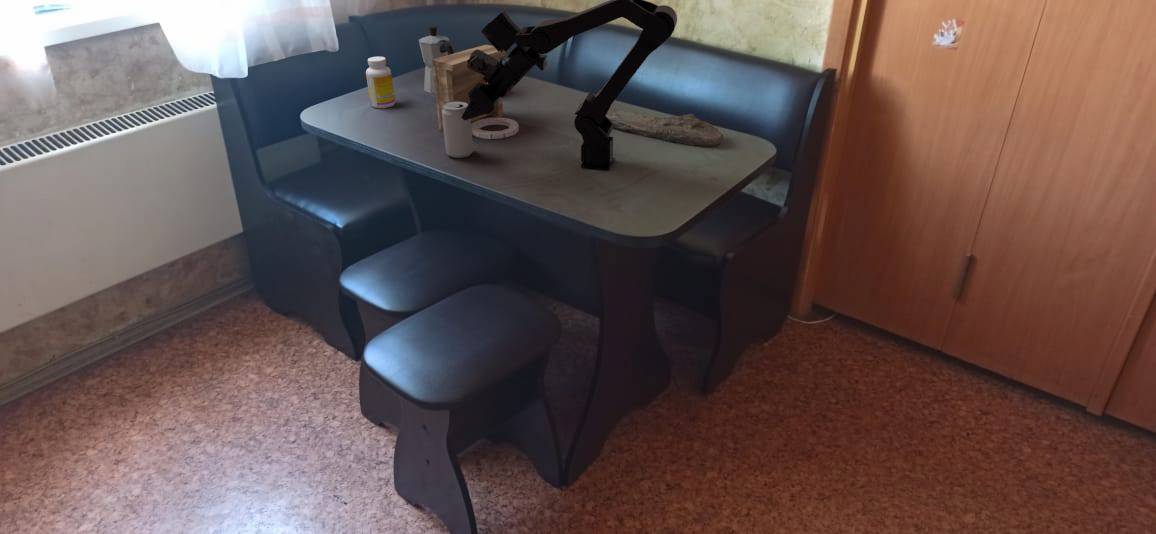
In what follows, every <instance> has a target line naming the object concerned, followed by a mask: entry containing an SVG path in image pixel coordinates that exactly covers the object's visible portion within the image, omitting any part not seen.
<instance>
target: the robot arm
mask: <svg viewBox="0 0 1156 534" xmlns="http://www.w3.org/2000/svg"><path fill="white" fill-rule="evenodd" d="M620 18H624V19H625V20H627V21H629V22H630V23H632V24H634V25H635V26H636V27H638V28H639V29H642V31H641V33H640V35H639V36H638V39H637V40H636V42H635V43H634V45H632V48H631V49H630V50H629V52H628V53H627V54H626V55H625V57H624V58H623V60H621V62H620V64H619V65H618V66H617V67H616V68H615V71H613V73H612V74H611V75H610V77H609V79H608V80H607V82H605V84H604V85H603V87H602V88H601V89H600V90H599V91H598V92H596V94H594V93H592V91H589V92H588V94H587V96H586V97H585V98H584V101H582V102H581V103H579V105H578V107H577V109H576V111H575V112H574V114H575V115H576V116H575V118H574V122H573V123H574V128H575V130H576V131H577V132H578V133H579V134H580V135H581V137H582V143H581V145H580V161H581V162H582V163H581V164H580V167H581V168H583V169H585V168H586V169H593V170H594V169H596V170H602V171H608V170H609V171H610V169H611V167H612V165H613V163H614V162H615V160H616V157H614V136H611V133H612V131H613V129H614V128H613V127H614V124H613V123H612V122H611V121H610V120H609V119H608V118H607V117H606V114H607V112H608V110H609V109H611V106H612V104H613V103H614V102H615V100H616V99H617V98H618V96H619V95H620V94H621V92H622V91H623V90H624V89H625V87H626V86H627V85H628V83H629V82H630V80H632V78H633V77H634V75H635V74H636V73H637V71H638V70H639V69H640V68H641V66H642V65H643V64H644V62H645V61H646V59H647V58H648V57H649V55H651V54H652V53H654V51H657V49H658V48H659V47H661V45H663V44H664V43H665V42H666V41H667V40H668V39H669V38H671V36H672V35H673V34H674V31H675V29H676V26H677V23H678V15H677V13H676V11H675V9H674V8H672V7H671V6H669V5H667V4H666V5H665V4H663V5H658V4H656V3H653V2H650V1H647V0H607V1H605V2H602V3H599V4H597V5H595V6H592V7H590V8H587V9H585V10H582V11H579V12H578V13H575V14H573V15H569V16H567V17H556V18H551V19H546V20H542V21H540V22H539V23H537V24H536V25H532V26H529V25H528V26H523V27H521V29H520V27H519V26H517V25H516V23H515V22H514V21H513V20H512V19H511V18H510V16H509V14H508V13H507V12H506V11H505V10H502V11H500V12H499V14H497V15H496V16H495V17H494V18H493V19H492V20H490V22H488V23H487V24H486V25H485V26H484V28H482V29H481V31H480V34H481V35H482V36H483V37H484V38H485V39H486V40H487V42H488V43H490V44H491V46H494V47H495V48H496V49H497V51H498V52H499V51H501V52H502V51H503V50H504V51H505V52H506V53H507V52H508V51H509V50H510V48H512V47H513V45H516V46H515V47H514V48H513V49H512V50H511V51H509V53H507V54H506V56H504V57H501V58H500V61H498V60H496V59H495V58H493V57H492V56H490V55H488V54H486V53H484V52H482V51H481V50H477V49H476V50H475V51H474V52H472V53H471V56H470V58H469V59H468V60H467V62H468V63H467V68H469V69H471V70H474V71H476V72H478V73H480V74H482V75H485V76H484V77H483V80H484V81H485V82H486V85H485V84H484V83H478V84H477V85H476V86H475V87H474V88H473V89H472V90H471V91H470V92H469V93H468V96H469V98H470V103H469V105H468V107H467V108H466V110H465V112H464V113H463V115H462V119H463V120H468V119H471V118H474V117H477V116H481V115H484V114H489V113H490V112H491V111H492V110H493V109H494V108H495V107H496V106H497V105H498V98H500V97H502V99H503V98H504V97H505V96H506V95H507V94H508V93H509V92H511V91H512V89H513V88H514V87H515V86H516V85H517V84H519V82H520V81H521V80H522V79H523V78H524V77H525V76H526V75H528V73H530V71H531V70H532V69H533V68H534V67H535V66H536V67H537V68H538V69H539V70H540V71H544V70H545V68H546V67H547V66H548V61H547V58H548V55H546V54H548V53H550V52H552V51H553V50H555V49H556V48H558V47H560V46H561V45H563V44H564V43H565V42H566V41H568V40H570V39H571V38H573V37H575V36H577V35H580V34H582V33H585V32H588V31H590V30H592V29H595V28H597V27H599V26H603V25H604V24H607V23H610V22H612V21H615V20H618V19H620Z"/></svg>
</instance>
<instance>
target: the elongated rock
mask: <svg viewBox="0 0 1156 534" xmlns="http://www.w3.org/2000/svg"><path fill="white" fill-rule="evenodd" d="M606 117H607V118H608V119H609V120H610V121H611V122H612V123H613V124H614V127H613V129H616V130H620V131H622V132H625V133H626V132H628V133H632V134H634V135H640V136H642V137H648V138H657V139H662V140H664V141H667V142H672V143H681V144H685V145H688V146H693V147H694V146H695V145H698V146H702V147H703V146H713V147H714V146H715V147H716V146H718V145H719V144H721V143H722V141H723V140H724V134H723V133H722V131H719V129H718V127H715V126H714V125H712V124H711V123H710V122H708V121H703V120H701V119H700V118H697V117H696V116H695V114H693V113H688V114H683V115H677V117H676V116H669V117H658V116H654V115H648V114H641V113H637V112H632V111H628V110H627V111H626V110H620V109H616V108H609V110H608V112H607V114H606Z"/></svg>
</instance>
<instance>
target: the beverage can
mask: <svg viewBox="0 0 1156 534" xmlns="http://www.w3.org/2000/svg"><path fill="white" fill-rule="evenodd" d="M467 107H468V104H467V103H465V102H449V103H446V104H444V105H443V110H442V117H443V127H444V132H443V135H444V136H443V137H444V145H445V153H446V154H447V155H448V156H449V157H451V158H453V159H463V158H467V157H470V156H471V155H470V154H472V153H473V152H474V144H473V143H474V142H473V140H474V139H473V135H472V128H471V124H472V122H471V119H468V120H463V119H462V115H463V113H464V112H465V110H466V108H467Z"/></svg>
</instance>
